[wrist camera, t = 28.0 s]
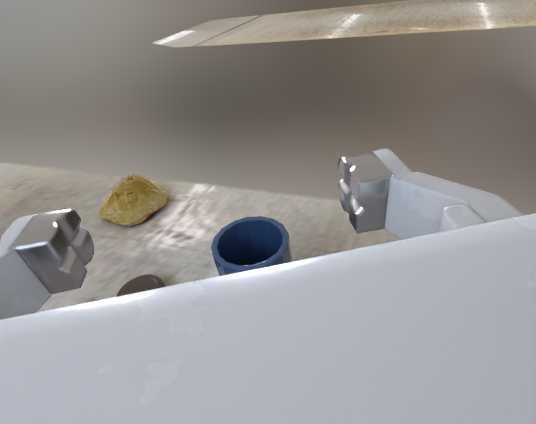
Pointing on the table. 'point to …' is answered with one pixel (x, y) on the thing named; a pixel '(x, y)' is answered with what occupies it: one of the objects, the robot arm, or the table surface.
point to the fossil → (133, 201)
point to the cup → (250, 245)
